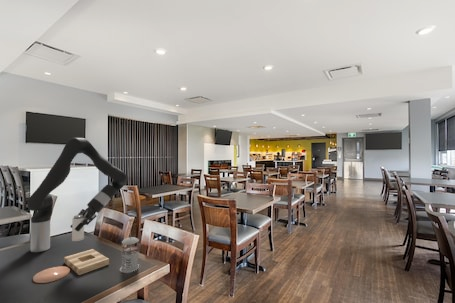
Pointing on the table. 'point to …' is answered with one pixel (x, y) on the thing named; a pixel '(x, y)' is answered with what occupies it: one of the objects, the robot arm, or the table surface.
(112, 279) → the table surface
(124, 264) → the french press
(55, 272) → the terracotta plate
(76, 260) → the mill caddy
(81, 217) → the pepper mill
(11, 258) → the table surface
